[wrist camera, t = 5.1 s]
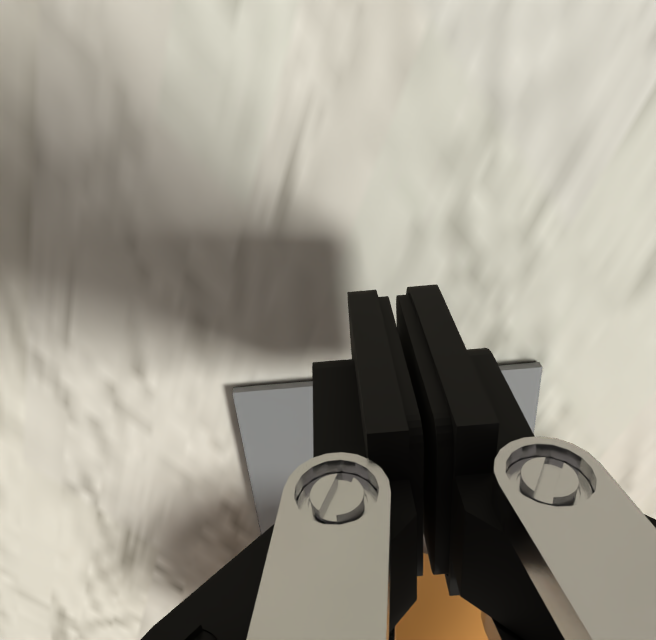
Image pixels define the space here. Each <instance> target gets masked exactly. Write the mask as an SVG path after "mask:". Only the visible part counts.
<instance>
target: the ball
mask: <svg viewBox="0 0 656 640" xmlns="http://www.w3.org/2000/svg"><path fill="white" fill-rule="evenodd" d="M396 640H489V639H488V637H487V635H486V633H485V630H484V627H483V623H482V619H481V610H480V609H478V608H477V607H475V606H474V605H472V604H471V603H469V602H468V601H466V600H465V599H463V598H462V597H460V595H456V596H449V591H448V587H447V583H446V579H445V574H440V575H433V573H432V570H431V566H430V561H429V557H428V554H425V553H423V576H417V600H416V602H415V603H414V604H413V605H412V606H411V608H410V609H409V610H408V611H407V612H406V614H405V615H404V616H403V617H402V618H401V620H400V621H399V622H398V623H397V624H396Z"/></svg>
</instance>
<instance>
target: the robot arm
mask: <svg viewBox="0 0 656 640" xmlns="http://www.w3.org/2000/svg"><path fill="white" fill-rule="evenodd" d="M348 309H349V323H350V338H351V352H352V359H349V360H337V361H325V362H313V366H312V373H313V458H311V459H309V460H308V461H306V462H305V463H303V464H301V465H300V466H298V467H297V468H296V469H295V471H294V472H293V473H292V474H291V475H290V476H289V478H288V480H287V482H286V484H285V486H284V489H283V493H282V497H281V501H280V505H279V509H278V513H277V517H276V521H275V524H274V525H272V526H271V527H270V528H269V529H268V530H266V531H265V532H264V533H263V534H262V535H261V536H259V537H258V538H257V539H256V540H255V541H253V542H252V543H251V544H250V545H249V546H248V547H246V548H245V549H244V550H243V551H242V552H240V553H239V554H238V555H237V556H236V557H235V558H233V559H232V560H231V561H230V562H229V563H227V564H226V565H225V566H224V567H223V568H222V569H220V570H219V571H218V572H217V573H216V574H214V575H213V576H212V577H211V578H210V579H209V580H207V581H206V582H205V583H204V584H203V585H201V586H200V587H199V588H198V589H197V590H196V591H194V592H193V593H192V594H191V595H190V596H189V597H187V598H186V599H185V600H184V601H183V602H181V603H180V604H179V605H178V606H177V607H176V608H174V609H173V610H172V611H171V612H170V613H168V614H167V615H166V616H165V617H164V618H163V619H161V620H160V621H159V622H158V623H157V624H155V625H154V626H153V627H152V628H151V629H150V630H149V631H148V632H147V633H146V635H145V636H144V637H143V638H142V639H141V640H396V624H397V623H398V622H399V621H400V620H401V618H402V617H403V616H404V615H405V614H406V612H407V611H408V610H409V609H410V608H411V606H412V605H413V604H414V603H415V602H416V600H417V576H423V533H424V538H425V543H426V547H427V552H428V557H429V561H430V566H431V570H432V573H433V575H440V574H445V579H446V583H447V587H448V591H449V596H456V595H460V597H462V598H463V599H465V600H466V601H468V602H469V603H471V604H472V605H474V606H475V607H477V608H478V609H480V610H481V619H482V623H483V627H484V630H485V633H486V635H487V637H488V639H489V640H656V520H655V519H653V518H651V517H649V516H647V515H645V514H643V513H642V511H641V510H640V509H639V508H638V507H637V506H636V504H635V503H634V502H633V501H632V500H631V499H630V497H629V496H628V495H627V494H626V493H625V491H624V490H623V489H622V488H621V487H620V486H619V484H618V483H617V482H616V481H615V480H614V479H613V477H612V476H611V475H610V474H609V473H608V472H607V470H606V469H605V468H604V467H603V466H602V464H601V463H600V462H599V461H597V460H596V459H595V458H594V457H593V456H592V455H591V454H590V453H589V452H587V451H585V450H583V449H582V448H580V447H578V446H576V445H574V444H572V443H569V442H566V441H563V440H560V439H557V438H549V437H542V436H537V437H535V436H534V434H533V432H532V430H531V428H530V426H529V424H528V422H527V420H526V418H525V416H524V414H523V412H522V411H521V409H520V407H519V405H518V403H517V401H516V399H515V397H514V395H513V393H512V391H511V389H510V387H509V385H508V383H507V381H506V379H505V378H504V376H503V374H502V372H501V370H500V368H499V366H498V364H497V362H496V360H495V358H494V356H493V354H492V353H491V351H490V350H489V349H487V348H481V349H469V350H466V347H465V345H464V343H463V341H462V338H461V336H460V334H459V332H458V329H457V327H456V325H455V323H454V321H453V318H452V316H451V314H450V312H449V309H448V307H447V305H446V303H445V300H444V298H443V296H442V294H441V291H440V289H439V287H438V285H427V286H415V287H407V292H406V295H398V296H397V297H396V314H397V327H396V323H395V319H394V316H393V312H392V308H391V304H390V301H389V297H388V296H386V297H378V295H377V291H376V290H368V291H356V292H348Z"/></svg>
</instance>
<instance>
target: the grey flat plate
mask: <svg viewBox="0 0 656 640" xmlns="http://www.w3.org/2000/svg"><path fill="white" fill-rule="evenodd" d="M499 368H500V370H501V372H502V374H503V376H504V378H505V379H506V381H507V383H508V385H509V387H510V389H511V391H512V393H513V395H514V397H515V399H516V401H517V403H518V405H519V407H520V409H521V411H522V412H523V414H524V416H525V418H526V420H527V422H528V424H529V426H530V428H531V430H532V432H533V434H534V428H535V420H536V413H537V405H538V397H539V390H540V382H541V374H542V366H541V364H540V363H539V362H536V363H524V364H512V365H500V366H499ZM232 394H233V398H234V403H235V408H236V413H237V418H238V423H239V428H240V433H241V438H242V442H243V447H244V452H245V457H246V462H247V467H248V472H249V477H250V482H251V486H252V491H253V496H254V501H255V506H256V511H257V516H258V521H259V526H260V531H261V535H262V534H263V533H264V532H265V531H266V530H268V529H269V528H270V527H271V526H272V525H274V524H275V521H276V517H277V513H278V509H279V505H280V501H281V497H282V493H283V489H284V486H285V484H286V482H287V480H288V478H289V476H290V475H291V474H292V473H293V472H294V471H295V469H296V468H297V467H298V466H300V465H301V464H303V463H305V462H306V461H308V460H309V459H311V458H313V381H307V382H295V383H283V384H271V385H259V386H247V387H235V388H233V392H232ZM423 553H425V554H428V552H427V547H426V543H425V538H424V533H423Z"/></svg>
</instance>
